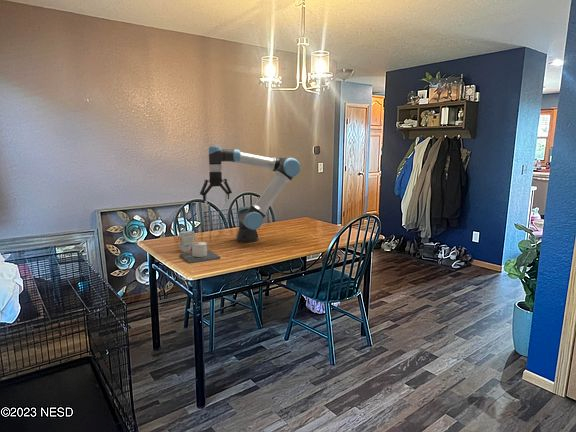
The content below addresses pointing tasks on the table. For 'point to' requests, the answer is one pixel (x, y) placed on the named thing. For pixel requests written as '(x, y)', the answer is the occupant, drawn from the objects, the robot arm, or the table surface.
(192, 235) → the ink box
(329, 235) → the table surface
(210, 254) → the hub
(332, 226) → the table surface
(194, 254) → the light grey boxy piece
